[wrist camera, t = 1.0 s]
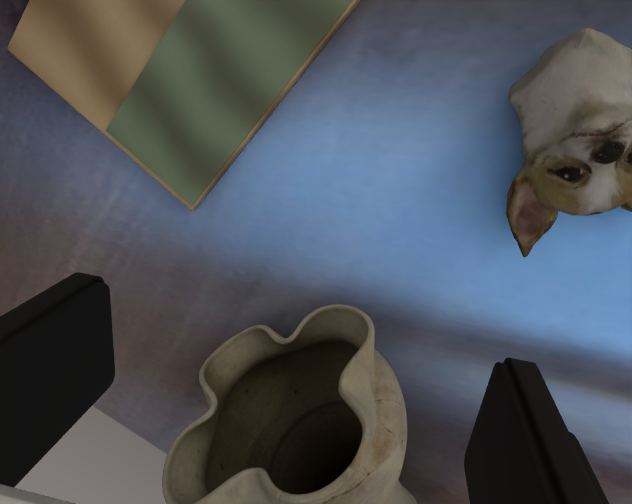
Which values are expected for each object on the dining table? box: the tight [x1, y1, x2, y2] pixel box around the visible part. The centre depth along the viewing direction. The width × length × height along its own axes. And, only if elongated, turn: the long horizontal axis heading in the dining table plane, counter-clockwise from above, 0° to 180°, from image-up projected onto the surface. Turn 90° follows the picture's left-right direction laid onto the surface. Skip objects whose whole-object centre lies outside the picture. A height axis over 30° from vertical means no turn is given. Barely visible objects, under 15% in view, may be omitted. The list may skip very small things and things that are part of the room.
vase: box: [162, 304, 417, 504], centre depth 39 cm, size 22×22×28 cm
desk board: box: [7, 0, 361, 211], centre depth 34 cm, size 23×20×1 cm
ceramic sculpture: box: [506, 28, 632, 257], centre depth 29 cm, size 11×9×15 cm
